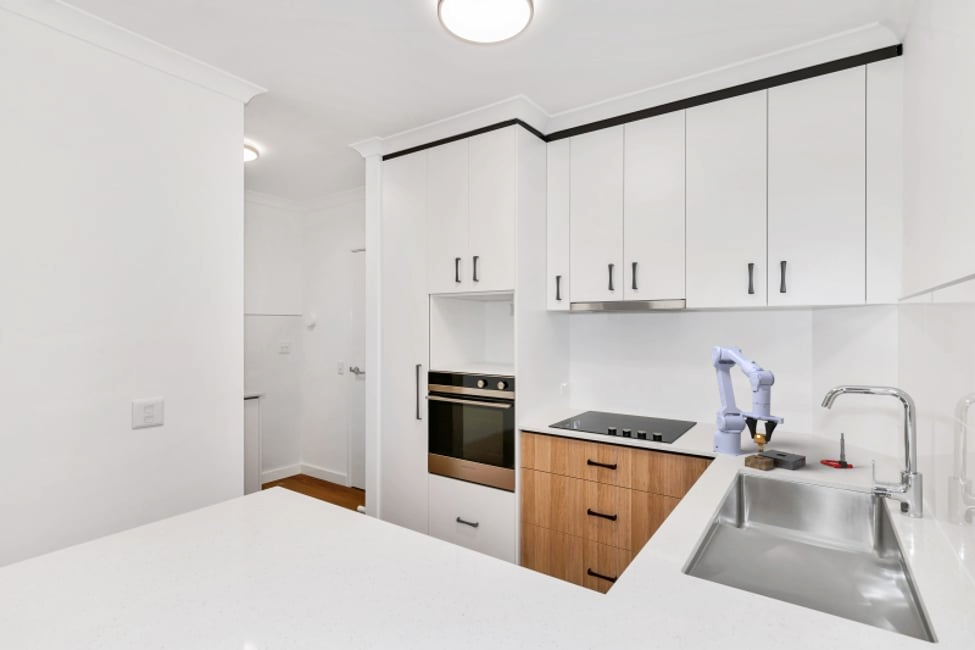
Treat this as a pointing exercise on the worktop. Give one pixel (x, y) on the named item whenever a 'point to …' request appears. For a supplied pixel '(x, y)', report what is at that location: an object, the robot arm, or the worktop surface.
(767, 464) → the block
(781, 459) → the hitch block
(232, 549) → the worktop surface
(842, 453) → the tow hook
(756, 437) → the pin
